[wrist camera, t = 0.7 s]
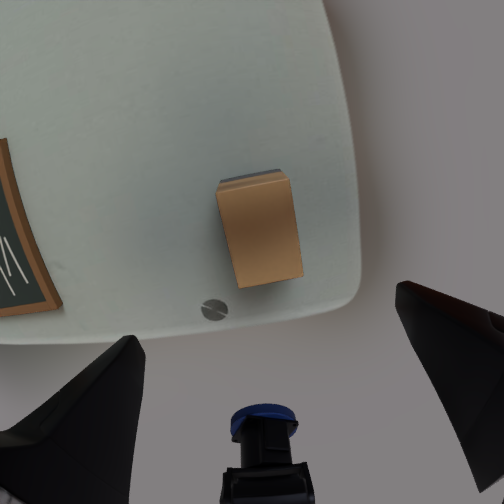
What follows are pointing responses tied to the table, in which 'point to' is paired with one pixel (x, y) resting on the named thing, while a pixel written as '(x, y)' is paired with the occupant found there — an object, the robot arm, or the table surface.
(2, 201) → the chalkboard
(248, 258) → the eraser
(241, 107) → the table surface
